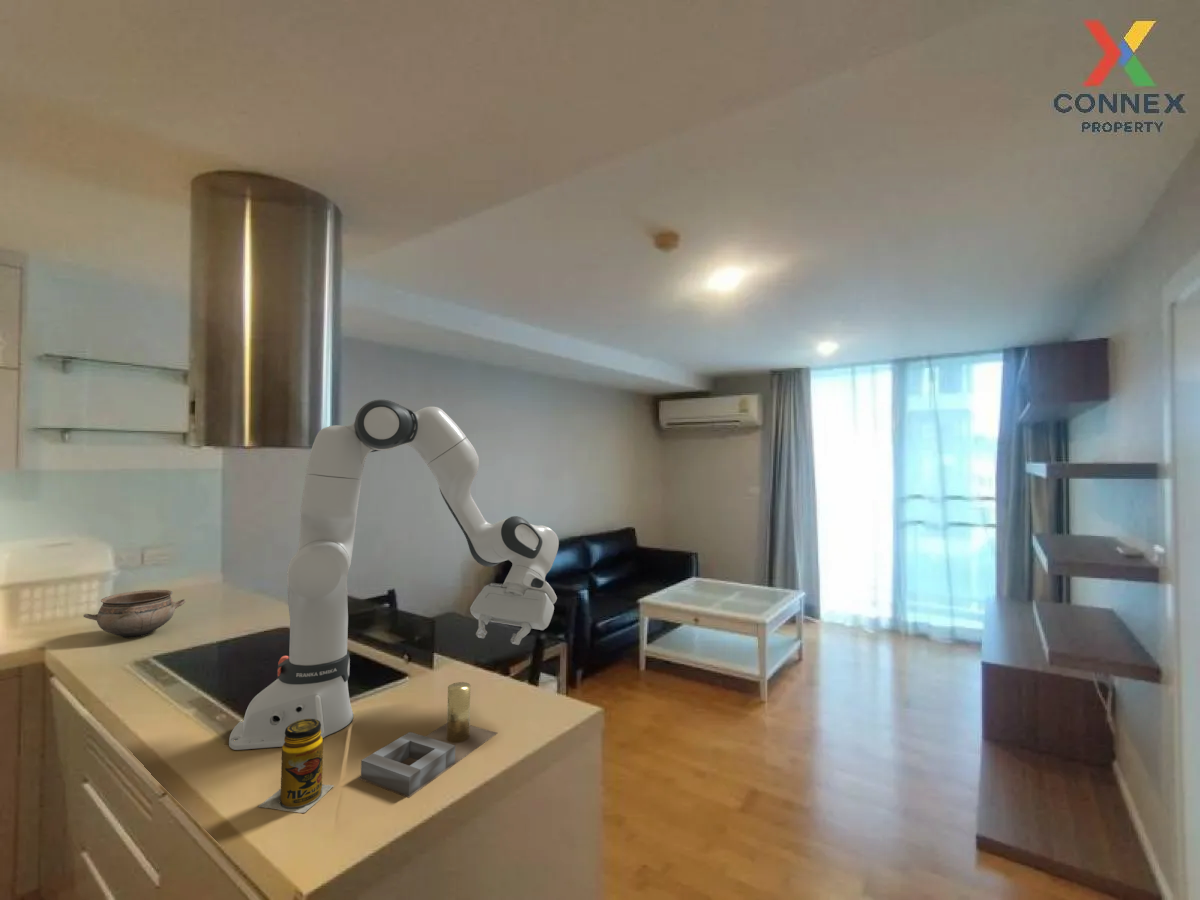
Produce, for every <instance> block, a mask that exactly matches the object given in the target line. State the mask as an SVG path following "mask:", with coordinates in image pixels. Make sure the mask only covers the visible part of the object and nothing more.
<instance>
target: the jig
mask: <svg viewBox="0 0 1200 900" xmlns="http://www.w3.org/2000/svg"><path fill="white" fill-rule="evenodd" d="M497 734H498V732H495V731H492V730H489V729H485V728H482V727H478V726H474V725H471V724H470V733H469V738H468V739H467V740H465V741H463V742H459V743H453V742H449V741H448V740H447V722H446V723H444V724H443V725H442V726H439V727H438V728H436V729H435V730H433V731H431V732H430V733H428V734H427V735H422V734H418V733H415V732H412V731H409V732H407V733H405V734H404V735H402V736H400V737H399V738H397V739H396V740H394V741H392V742H390V743H388V744H386V745H384V746H383V747H381V748H379V749H378V750H376V751H374V752H373V753H371V754H369V755H368V756H366V757H365V758H363V759H361V760H360V761H361V762H360V764H361V765H360V776H359V777H358V778H356V779H358V780H360V781H363V782H366V783H369V784H370V785H372V786H376V787H379V788H382V789H385V791H386V790H387V791H389V792H392V793H395V794H397V795H400V796H403V797H405V798H407V799H410V798H412V797H413V796H414V795H415V794H416V793H418V792H420V791H421V790H422V789H423V788H425V787H426V786H427V785H429V784H430V783H432V782H433V781H434V780H436V779H437V778H438V777H440V776H441V775H443V774H444V773H445V772H447V771H448V770H449V769H451V768H452V767H453V766H455V765H456V764H458V763H459V762H461V761H462V760H463V759H464V758H466V757H467V756H468V755H470V754H471V753H473V752H474V751H475V750H477V749H478V748H479V747H481V746H482V745H483V744H486V742H488V741H489V740H491V738H493V737H494V736H496V735H497Z"/></svg>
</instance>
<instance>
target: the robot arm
mask: <svg viewBox="0 0 1200 900" xmlns="http://www.w3.org/2000/svg"><path fill="white" fill-rule="evenodd" d="M401 445H406V446H410V447H411V448H413V449H414V450H415V451H416V452H417V453H418V454H419V456H420V457H421V458H422V460H423V461H424V463H425V464H426V465H427V467H428V469H430V472H431V473H432V474H433V476H434V478H435V480H436V482H437V484H438V486H439V487H438V488H439V492H440V494H441V496H442V499H443V501H444V502H445V504H446V506H447V508H448V509H449V511H450V513H451V514H452V516H453V518H454V519H455V522H457V524H458V526H459V528H460V530H461V532H462V533H463V535H464V537H465V540H466V541H467V545H468V548H469V552H470V554H471V556H472V558H473V559H474V560H475V561H476V562H477V563H478V564H480V565H482V566H484V567H489V568H491V567H495V566H497V565H499V564H501V563H503V562H505V561H509V562H511V563H512V564H511V565H512V566H511V567H510V569H509V572H508V574H507V575H506V577H505V579H504V582H503V583H496V582H491V583H489V584H487V585H484V586H483V588H482V590H481V591H480V592H479V593H478V595H477V596H476V598H474V601H473V602H472V603H471V606H470V607H469V610H470V613H471V615H472V616H473V617H474V618H475V619H476V620H478V628H477V631H476V632H475V635H476V637H477V638H479V639H485V638H486V635H488V631H487V630H486V626H487V625H488V624H489V623H490V622H492V623H498V624H503V625H508V626H509V625H510V626H515V627H521V628H520V630H518V631H517V633H514V632H513V633H512V635H511V638H510V643H511V644H512V645H517V646H519V645H520V644H521V641H522V639H523V638H525V637H526V636H527V635H528V634H529V633H530V632H531V630H533V629H534V630H540V631H544V630H545V629H547V628H548V627H549V625H550V623H551V620H552V618H553V615H554V612H555V611H554V610H555V606H554V605H555V603H556V602H557V599H558V597H557V595H556V593H555V590H554V589H553V587H552V586H551V585H550V584H549V582H547V580H546V576H547V574H548V573H549V572H550V571H551V569H552V567H553V564H554V561H555V560H556V557H557V555H558V550H559V545H560V541H559V537H558V535H557V533H556V532H555V531H554V530H553V529H551V528H550V527H548V526H545V525H543V524H542V525H536V524H532V523H529V522H528V521H527V520H526V519H525V518H523V517H521V516H516V515H515V516H514V515H513V516H509V517H507V518H505V519H501V520H499V521H496V522H494V523H490V522H488V521H487V520H486V518H485V517H484V516H483V514H482V512H481V510H480V509H479V507H478V505H477V503H476V502H475V500H474V498H473V496H472V494H471V493H472V492H471V487H472V483H473V481H474V479H475V477H476V475H477V473H478V470H479V466H480V458H479V455H478V452H477V451H476V449H475V447H474V445H473V444H472V443H471V441H470V440H469V439H468V437H467V436H466V434H465V433H464V432H463V430H462V428H460V426H458V424H457V423H456V422H455V421H454V419H452V418H451V417H450V416H449V414H447V413H446V412H445V411H444V410H443V409H442V408H440V407H438V406H425V407H422V408H421V409H418V410H417V411H415V412H414V410H411V409H409V408H407V407H405V406H402V405H401V404H399V403H397V402H395V401H392V400H389V399H375V400H374V399H373V400H371V401H368V402H367V403H366V404H364V405H363V406H362V407H361V408H359V410H358V411H357V413H356V416H355V419H354V422H352V424H349V425H339V424H338V425H335V424H334V425H330V426H326V427H323V428H322V429H320V430H319V431H318V432H317V434H316V436H315V437H314V441H313V444H312V447H311V450H310V453H309V457H308V461H307V465H306V471H305V476H304V477H305V478H304V485H303V491H302V498H301V504H300V520H299V521H300V524H299V537H298V547H297V552H296V553H295V554H294V555H293V556H292V557H291V559H290V560H289V562H288V565H287V571H286V575H287V577H286V579H287V581H286V582H287V585H286V586H287V603H288V613H289V646H288V647H289V652H288V653H289V655H283V656H281V657H280V658H279V661H278V662H277V663H278V664H277V670H276V671H277V672H276V673H277V674H276V675H277V678H276V680H275V679H274V681H273V682H271V683H270V684H269V685H267V687H264V688H263V689H262V690H261V691H260V692H259V693H257V694H256V695H255V696H254V697H253V698H252V700H251V701H250V702H249V704H248V706H247V709H246V710H245V714H244V717H243V719H244V721H243V722H241V721H242V720H240V721H239V722H238V723H237V724H236V725H235V726H234V727H233V729H232V731H231V733H230V734H229V738H228V739H229V740H228V745H229V748H230V749H232V750H235V751H240V750H251V749H252V750H253V749H255V750H256V749H266V748H267V749H269V748H278V747H279V748H280V747H282V746H283V744H284V743H285V741H284V738H285V730H286V728H287V727H288V726H289V725H290V724H292V723H294V722H296V721H299V720H303V719H316V720H318V721H320V723H321V736H322V738H323V739H324V738H325V737H328V736H330V735H331V734H334V733H337V732H339V731H341V730H342V729H344V728H346V727H347V726H348V725H350V723H351V722H352V721H353V719H354V715H355V714H354V712H353V711H354V710H353V708H352V705H351V700H350V693H349V683H348V680H349V678H350V667H351V665H350V663H351V662H350V661H351V659H350V652H349V651H348V639H349V638H348V632H349V631H348V630H349V629H348V628H349V611H348V610H349V609H348V604H349V603H348V575H349V570H350V567H351V564H352V559H353V550H354V543H355V534H356V525H357V515H358V508H359V503H360V502H359V501H360V494H361V493H360V492H361V487H362V481H363V472H364V467H365V466H364V465H365V462H366V459H367V457H368V455H369V454H370V453H374V452H380V451H383V452H385V451H390V450H393V449H395V448H398V447H400V446H401ZM234 740H235V741H234Z"/></svg>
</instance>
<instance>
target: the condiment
mask: <svg viewBox="0 0 1200 900" xmlns="http://www.w3.org/2000/svg"><path fill="white" fill-rule="evenodd" d="M284 741H285V743H284V744H283V746H281V747H282V748H281V767H280V769H281V770H280V775H281V777H280V789H278V790H277V791H276V792H274V793H273V794H272V795H271V796H270V797H268V798H267V799H266V800H265V801H263V802H262V803H260V804H259V805H258V806H257V808H264V809H273V810H274V809H275V810H279V811H282V812H283V811H284V812H292V813H298V814H299V813H301V814H304V813H306V812H307V811H308V810H309V809H311V808H312V807H313V806H315V804H316V803H318V802H319V801H320V800H321V799H322V798H323V797H324V796H325V795H326V794H328V792H329V791H330V790H331V789H332V788H334V787H335V785H334V784H324V783H323V774H324V773H323V770H324V768H323V766H324V764H323V762H324V761H323V759H324V754H323V753H324V738H322V736H321V723H320V721H318V720H316V719H303V720H299V721H296V722H294V723H292V724H290V725H289V726H288V727H287V728H286V730H285V738H284Z"/></svg>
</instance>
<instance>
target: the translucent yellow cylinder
mask: <svg viewBox="0 0 1200 900" xmlns="http://www.w3.org/2000/svg"><path fill="white" fill-rule="evenodd" d="M446 703H447V706H446V709H447V712H446V713H447V714H446V723H447V740H448V741H449V742H453V743H459V742H463V741H465V740H467V739H468V738H469V733H470V725H471V722H470V721H471V715H470V714H471V684H470V683H468V682H464V681H460V682H459V681H458V682H454V683H451V684H449V685H448V686H447V702H446Z"/></svg>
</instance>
